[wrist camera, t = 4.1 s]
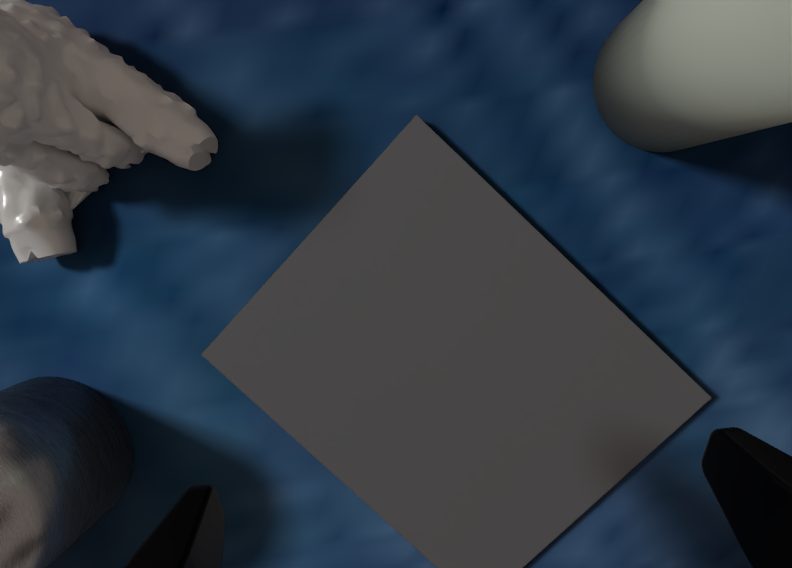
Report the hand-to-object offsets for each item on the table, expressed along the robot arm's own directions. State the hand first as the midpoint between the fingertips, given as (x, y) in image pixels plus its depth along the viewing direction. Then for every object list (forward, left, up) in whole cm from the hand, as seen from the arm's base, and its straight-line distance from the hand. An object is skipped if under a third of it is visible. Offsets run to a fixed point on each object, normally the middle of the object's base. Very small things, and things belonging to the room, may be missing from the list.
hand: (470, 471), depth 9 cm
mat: (-1, +1, -12) cm, 13 cm away
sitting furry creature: (+17, +4, -13) cm, 21 cm away
